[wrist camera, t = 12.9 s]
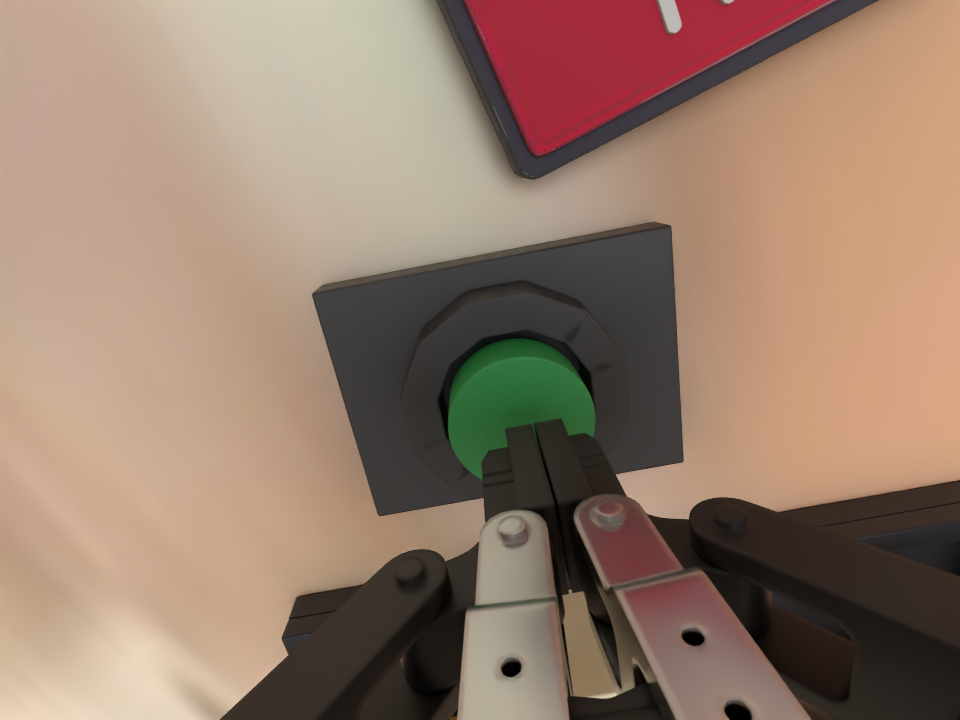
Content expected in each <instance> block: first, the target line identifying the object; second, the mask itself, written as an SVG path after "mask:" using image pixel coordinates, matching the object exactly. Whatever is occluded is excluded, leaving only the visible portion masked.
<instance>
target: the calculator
mask: <svg viewBox="0 0 960 720" xmlns="http://www.w3.org/2000/svg"><path fill="white" fill-rule="evenodd" d="M436 1H437V3H438V5H439V7H440V10H441V12H442V14H443V16H444V18H445V21H446V23H447V25H448V27H449V29H450V32H451V34H452V36H453V38H454V41H455V43H456V45H457V47H458V49H459V52H460V54H461V56H462V58H463V60H464V63H465V65H466V67H467V69H468V71H469V74H470V76H471V78H472V80H473V82H474V85H475V87H476V89H477V91H478V94H479V96H480V98H481V100H482V102H483V105H484V107H485V109H486V111H487V113H488V116H489V118H490V120H491V122H492V124H493V127H494V129H495V131H496V133H497V136H498V138H499V140H500V142H501V144H502V147H503V149H504V151H505V153H506V155H507V158H508V160H509V162H510V164H511V166H512V168H513V170H514V171H515V173H516V174H517V175H519V176H521V177H523V178H526V179H537V178H540V177H542V176H544V175H546V174H548V173H550V172H552V171H554V170H556V169H558V168H560V167H561V166H563V165H565V164H567V163H569V162H571V161H573V160H575V159H577V158H579V157H581V156H582V155H584V154H586V153H588V152H590V151H592V150H594V149H596V148H598V147H600V146H602V145H603V144H605V143H607V142H609V141H611V140H613V139H615V138H617V137H619V136H621V135H622V134H624V133H626V132H628V131H630V130H632V129H634V128H636V127H638V126H640V125H642V124H643V123H645V122H647V121H649V120H651V119H653V118H655V117H657V116H659V115H661V114H663V113H664V112H666V111H668V110H670V109H672V108H674V107H676V106H678V105H680V104H682V103H684V102H685V101H687V100H689V99H691V98H693V97H695V96H697V95H699V94H701V93H703V92H704V91H706V90H708V89H710V88H712V87H714V86H716V85H718V84H720V83H722V82H724V81H725V80H727V79H729V78H731V77H733V76H735V75H737V74H739V73H741V72H743V71H745V70H746V69H748V68H750V67H752V66H754V65H756V64H758V63H760V62H762V61H764V60H766V59H767V58H769V57H771V56H773V55H775V54H777V53H779V52H781V51H783V50H785V49H786V48H788V47H790V46H792V45H794V44H796V43H798V42H800V41H802V40H804V39H806V38H807V37H809V36H811V35H813V34H815V33H817V32H819V31H821V30H823V29H825V28H827V27H828V26H830V25H832V24H834V23H836V22H838V21H840V20H842V19H844V18H846V17H847V16H849V15H851V14H853V13H855V12H857V11H859V10H861V9H863V8H865V7H867V6H868V5H870V4H872V3H874V2H876V1H878V0H436Z"/></svg>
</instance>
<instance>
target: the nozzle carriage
mask: <svg viewBox="0 0 960 720" xmlns="http://www.w3.org/2000/svg"><path fill="white" fill-rule="evenodd" d="M562 597H563V602H564V608H565V617H564V627H565V634H566V641H567V648H568V656H569V663H570V671H571V678H572V685H573V693H574V696H578V697H590V698H601V699H607V698H612V697H615V696H617V694H616V692H615V689H614V686H613V684H612V681H611V678H610V676H609V673H608V671H607V668H606V665H605V663H604V660H603V658H602V655H601V652H600V650H599V647H598V644H597V642H596V639H595V637H594V634H593V631H592V629H591V626H590V622H589V617H588V610H587V603H586V599H585V596H584V593H583V592H577V593H572V590H569V594H567V595H562ZM450 720H457V716H454V717H451V718H450Z"/></svg>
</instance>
